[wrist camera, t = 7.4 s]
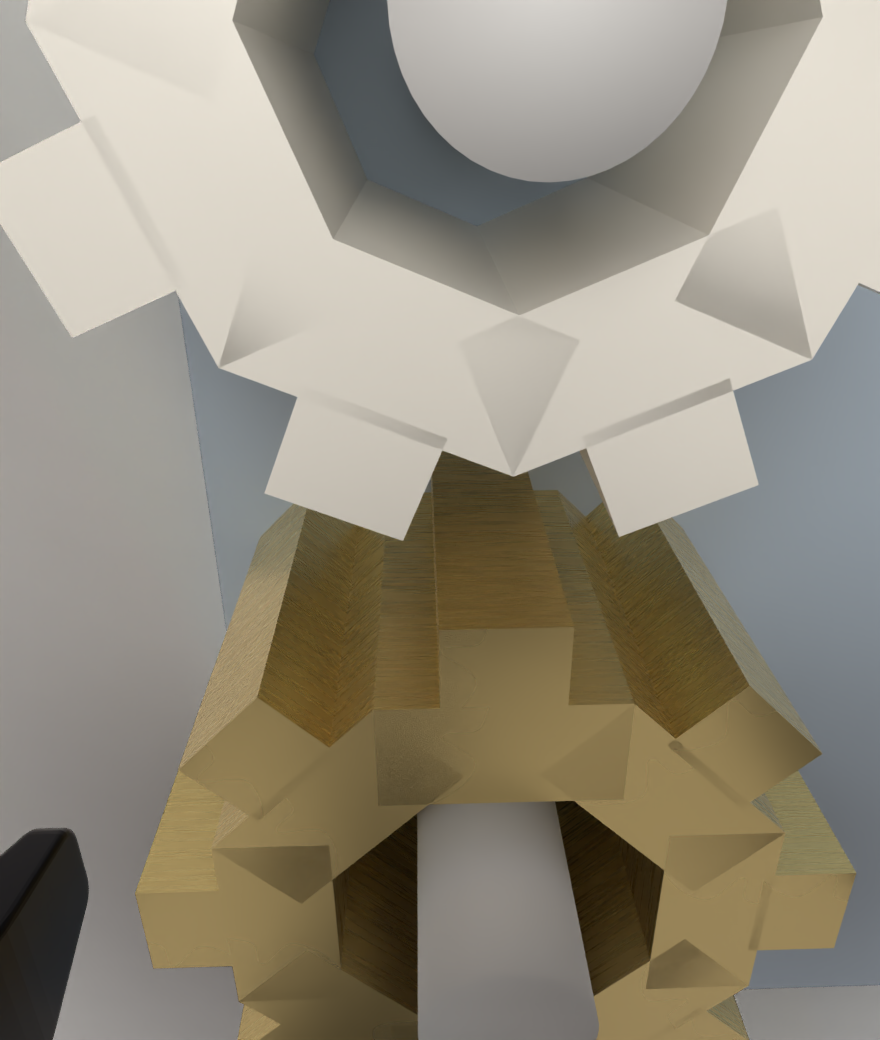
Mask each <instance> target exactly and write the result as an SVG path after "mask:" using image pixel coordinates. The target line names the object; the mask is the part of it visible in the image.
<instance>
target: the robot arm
mask: <svg viewBox="0 0 880 1040" xmlns="http://www.w3.org/2000/svg"><path fill="white" fill-rule="evenodd" d="M88 893H89V885H88V878H87V874H86V871H85V867H84V863H83V860H82V856H81V853H80V849H79V845H78V842H77V838H76V836H75V833H74V832H73V831H72V830H71V829H68V828H39V829H34V830H31V831H29V832H28V833H26V834H25V835H24V836H22V837H21V838H20V839H19V840H18V841H17V842H16V843H14V844H13V845H12V846H11V847H10V848H9V849H7V850H6V851H5V852H4V853H3V854H2V855H1V856H0V1040H53V1037H54V1033H55V1029H56V1026H57V1022H58V1018H59V1014H60V1010H61V1006H62V1002H63V998H64V994H65V990H66V986H67V982H68V978H69V974H70V970H71V966H72V962H73V958H74V954H75V950H76V946H77V942H78V938H79V934H80V930H81V926H82V922H83V918H84V914H85V910H86V906H87V902H88Z"/></svg>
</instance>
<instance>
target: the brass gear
mask: <svg viewBox="0 0 880 1040" xmlns="http://www.w3.org/2000/svg"><path fill="white" fill-rule="evenodd" d="M821 754H822V752H821V750H820V749H819V747H818V746H817V744H816V742H815V741H814V739H813V738H812V736H811V734H810V733H809V731H808V729H807V728H806V726H805V725H804V723H803V721H802V720H801V718H800V717H799V715H798V713H797V712H796V710H795V708H794V707H793V705H792V704H791V702H790V700H789V699H788V697H787V696H786V694H785V692H784V691H783V689H782V688H781V686H780V684H779V683H778V681H777V679H776V678H775V676H774V675H773V673H772V671H771V670H770V668H769V667H768V665H767V663H766V662H765V660H764V658H763V657H762V655H761V654H760V652H759V650H758V649H757V647H756V646H755V644H754V642H753V641H752V639H751V638H750V636H749V634H748V633H747V631H746V629H745V628H744V626H743V625H742V623H741V621H740V620H739V618H738V617H737V615H736V613H735V612H734V610H733V608H732V607H731V605H730V604H729V602H728V600H727V599H726V597H725V596H724V594H723V592H722V591H721V589H720V588H719V586H718V584H717V583H716V581H715V579H714V578H713V576H712V575H711V573H710V571H709V570H708V568H707V567H706V565H705V563H704V562H703V560H702V558H701V557H700V555H699V554H698V552H697V550H696V549H695V547H694V546H693V544H692V542H691V541H690V539H689V538H688V536H687V534H686V533H685V531H684V529H683V528H682V527H681V526H680V525H679V524H678V523H677V522H676V521H675V520H674V519H673V518H672V517H671V518H669V519H666V520H663V521H661V522H658V523H655V524H653V525H650V526H647V527H645V528H642V529H639V530H637V531H634V532H631V533H628V534H626V535H623V536H620V537H619V536H618V534H617V532H616V529H615V527H614V525H613V523H612V521H611V519H610V517H609V514H608V512H607V510H606V508H605V506H604V504H603V502H602V503H601V504H600V505H598V506H597V507H596V508H595V509H594V510H593V511H591V512H590V513H589V514H588V515H587V516H586V517H585V516H584V515H583V514H582V513H581V512H580V511H579V510H578V509H577V508H576V507H575V506H574V505H573V504H572V503H571V502H570V501H568V500H567V499H566V498H565V497H564V496H563V495H562V494H561V493H560V492H559V491H558V490H533V488H532V484H531V481H530V478H529V474H528V471H527V472H524V473H522V474H519V475H517V476H514V477H513V476H510V475H508V474H505V473H502V472H499V471H497V470H494V469H491V468H489V467H486V466H483V465H480V464H478V463H475V462H472V461H470V460H467V459H464V458H461V457H459V456H456V455H453V454H451V453H448V452H445V451H443V450H442V453H441V455H440V457H439V459H438V462H437V464H436V466H435V469H434V471H433V473H432V475H431V492H424V494H423V496H422V498H421V501H420V503H419V505H418V508H417V510H416V512H415V514H414V517H413V519H412V521H411V524H410V526H409V528H408V531H407V533H406V535H405V537H404V540H403V541H401V540H399V539H396V538H393V537H390V536H387V535H384V534H381V533H378V532H375V531H372V530H369V529H367V528H364V527H361V526H358V525H355V524H352V523H349V522H346V521H343V520H340V519H337V518H334V517H332V516H329V515H326V514H323V513H320V512H317V511H314V510H311V509H308V508H305V507H302V506H300V505H297V504H294V503H293V504H292V505H291V506H290V507H289V508H288V509H287V510H286V511H285V512H284V513H283V514H282V515H281V516H280V517H279V518H278V519H277V520H276V521H275V523H274V524H273V525H272V526H271V527H270V528H269V529H268V530H267V531H266V532H265V533H264V534H263V535H262V536H261V537H260V539H259V541H258V544H257V547H256V550H255V553H254V556H253V558H252V561H251V564H250V567H249V570H248V573H247V575H246V578H245V581H244V584H243V587H242V590H241V592H240V595H239V598H238V601H237V604H236V607H235V609H234V612H233V615H232V618H231V621H230V624H229V626H228V629H227V632H226V635H225V638H224V641H223V643H222V646H221V649H220V652H219V655H218V658H217V661H216V663H215V666H214V669H213V672H212V675H211V678H210V680H209V683H208V686H207V689H206V692H205V695H204V697H203V700H202V703H201V706H200V709H199V712H198V714H197V717H196V720H195V723H194V726H193V729H192V731H191V734H190V737H189V740H188V743H187V746H186V748H185V751H184V754H183V757H182V760H181V763H180V765H179V768H178V773H177V776H176V778H175V781H174V784H173V787H172V790H171V793H170V795H169V798H168V801H167V804H166V807H165V810H164V813H163V815H162V818H161V821H160V824H159V827H158V830H157V832H156V835H155V838H154V841H153V844H152V847H151V849H150V852H149V855H148V858H147V861H146V864H145V867H144V869H143V872H142V875H141V878H140V881H139V884H138V886H137V889H136V892H135V896H136V900H137V904H138V908H139V912H140V916H141V920H142V924H143V928H144V932H145V936H146V940H147V944H148V948H149V952H150V956H151V960H152V965H153V969H154V968H188V967H221V966H232V967H233V973H234V978H235V984H236V989H237V995H238V1000H239V1002H240V1003H242V1004H244V1008H243V1013H242V1019H241V1024H240V1029H239V1034H238V1040H418V893H417V813H419V812H420V811H421V810H422V809H424V808H425V807H426V806H428V805H431V804H469V803H507V802H545V801H555V804H556V809H557V814H558V819H559V824H560V829H561V834H562V840H563V845H564V850H565V855H566V860H567V865H568V870H569V875H570V880H571V885H572V890H573V895H574V900H575V905H576V910H577V915H578V920H579V925H580V930H581V935H582V940H583V945H584V950H585V956H586V961H587V966H588V971H589V976H590V981H591V986H592V991H593V996H594V1001H595V1006H596V1011H597V1016H598V1021H599V1031H598V1036H597V1039H596V1040H749V1038H748V1035H747V1032H746V1029H745V1027H744V1024H743V1021H742V1018H741V1015H740V1012H739V1010H738V1007H737V1004H736V1001H735V998H734V994H736V993H738V992H739V991H741V990H743V989H744V988H746V987H748V986H749V983H750V978H751V974H752V970H753V966H754V962H755V958H756V953H757V950H789V949H822V948H834V946H835V943H836V940H837V936H838V933H839V930H840V926H841V923H842V920H843V916H844V913H845V910H846V906H847V903H848V900H849V896H850V893H851V890H852V886H853V883H854V880H855V876H856V871H855V870H854V868H853V866H852V864H851V863H850V861H849V859H848V857H847V856H846V854H845V852H844V850H843V849H842V847H841V845H840V843H839V841H838V840H837V838H836V836H835V834H834V833H833V831H832V829H831V827H830V826H829V824H828V822H827V820H826V819H825V817H824V815H823V813H822V812H821V810H820V808H819V806H818V805H817V803H816V801H815V799H814V797H813V796H812V794H811V792H810V790H809V789H808V787H807V785H806V783H805V782H804V780H803V778H802V776H801V775H800V773H799V771H798V770H799V769H801V768H802V767H804V766H805V765H807V764H808V763H810V762H811V761H813V760H814V759H816V758H817V757H818V756H820V755H821Z"/></svg>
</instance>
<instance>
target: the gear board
mask: <svg viewBox="0 0 880 1040" xmlns="http://www.w3.org/2000/svg"><path fill="white" fill-rule="evenodd" d="M726 5H727V0H330V2H329V5H328V8H327V12H326V15H325V18H324V22H323V25H322V28H321V32H320V35H319V38H318V42H317V45H316V48H315V52H314V56H315V59H316V61H317V63H318V66H319V68H320V70H321V73H322V75H323V77H324V80H325V82H326V84H327V87H328V89H329V91H330V93H331V96H332V98H333V100H334V103H335V105H336V107H337V110H338V112H339V114H340V117H341V119H342V121H343V124H344V126H345V128H346V131H347V133H348V135H349V138H350V140H351V142H352V145H353V147H354V149H355V152H356V154H357V156H358V159H359V161H360V163H361V166H362V168H363V170H364V173H365V175H366V177H367V180H370V181H372V182H374V183H377V184H379V185H381V186H384V187H386V188H388V189H391V190H393V191H395V192H398V193H400V194H402V195H405V196H407V197H409V198H412V199H414V200H416V201H419V202H421V203H423V204H426V205H428V206H430V207H433V208H435V209H438V210H440V211H442V212H445V213H447V214H449V215H452V216H454V217H456V218H459V219H461V220H463V221H466V222H468V223H470V224H473V225H475V226H479V225H481V224H483V223H485V222H488V221H490V220H492V219H494V218H497V217H499V216H501V215H503V214H506V213H508V212H510V211H512V210H515V209H517V208H519V207H521V206H524V205H526V204H528V203H530V202H533V201H535V200H537V199H539V198H542V197H544V196H546V195H549V194H551V193H553V192H555V191H558V190H560V189H562V188H564V187H567V186H569V185H571V184H573V183H576V182H578V181H580V180H582V179H585V178H587V177H589V176H592V175H595V174H598V173H601V172H603V171H606V170H609V169H611V168H613V167H615V166H617V165H619V164H621V163H622V162H624V161H626V160H628V159H630V158H631V157H633V156H634V155H636V154H637V153H639V152H640V151H641V150H643V149H644V148H646V147H647V146H648V145H650V144H651V143H652V142H653V141H654V140H655V139H656V138H657V137H658V136H660V135H661V134H662V133H663V132H664V131H665V130H666V129H667V128H668V127H669V126H670V124H671V123H672V122H673V121H674V120H675V119H676V118H677V117H678V115H679V114H680V113H681V112H682V110H683V109H684V107H685V106H686V105H687V103H688V102H689V100H690V99H691V97H692V96H693V95H694V93H695V91H696V89H697V88H698V86H699V84H700V82H701V80H702V79H703V77H704V75H705V73H706V71H707V69H708V66H709V64H710V61H711V59H712V57H713V54H714V52H715V49H716V46H717V43H718V40H719V36H720V33H721V29H722V26H723V22H724V16H725V11H726ZM178 298H179V296H178ZM179 305H180V312H181V319H182V326H183V333H184V339H185V346H186V353H187V360H188V367H189V374H190V381H191V388H192V395H193V402H194V409H195V416H196V423H197V430H198V437H199V444H200V451H201V458H202V464H203V471H204V478H205V485H206V492H207V499H208V506H209V513H210V520H211V527H212V534H213V541H214V548H215V555H216V562H217V569H218V576H219V583H220V589H221V596H222V603H223V610H224V617H225V624H226V631H227V629H228V626H229V624H230V621H231V618H232V615H233V612H234V609H235V607H236V604H237V601H238V598H239V595H240V592H241V590H242V587H243V584H244V581H245V578H246V575H247V573H248V570H249V567H250V564H251V561H252V558H253V556H254V553H255V550H256V547H257V544H258V541H259V539H260V537H261V536H262V535H263V534H264V533H265V532H266V531H267V530H268V529H269V528H270V527H271V526H272V525H273V524H274V523H275V521H276V520H277V519H278V518H279V517H280V516H281V515H282V514H283V513H284V512H285V511H286V510H287V509H288V508H289V507H290V506H291V505H292V504H293V503H291V502H288V501H285V500H282V499H279V498H276V497H273V496H270V495H268V494H265V490H266V487H267V484H268V481H269V478H270V475H271V472H272V469H273V467H274V464H275V461H276V458H277V455H278V452H279V449H280V446H281V443H282V440H283V438H284V435H285V432H286V429H287V426H288V423H289V420H290V417H291V414H292V411H293V409H294V406H295V403H296V400H297V397H296V396H293V395H291V394H288V393H285V392H283V391H280V390H277V389H274V388H272V387H269V386H266V385H264V384H261V383H258V382H255V381H253V380H250V379H247V378H245V377H242V376H239V375H236V374H234V373H231V372H228V371H226V370H223V369H220V368H218V366H217V364H216V363H215V361H214V359H213V357H212V355H211V354H210V352H209V350H208V348H207V346H206V345H205V343H204V341H203V339H202V337H201V336H200V334H199V332H198V330H197V329H196V327H195V325H194V323H193V321H192V320H191V318H190V316H189V314H188V312H187V311H186V309H185V307H184V305H183V303H182V302H181V300H180V298H179ZM733 392H734V396H735V400H736V403H737V407H738V411H739V414H740V418H741V422H742V425H743V429H744V433H745V436H746V440H747V444H748V447H749V451H750V454H751V458H752V462H753V465H754V469H755V473H756V476H757V480H758V484H759V485H757V486H755V487H752V488H749V489H747V490H744V491H741V492H739V493H736V494H733V495H730V496H728V497H725V498H722V499H720V500H717V501H714V502H712V503H709V504H706V505H704V506H701V507H698V508H696V509H693V510H690V511H688V512H685V513H682V514H679V515H677V516H674V517H672V518H673V519H674V520H675V521H676V522H677V523H678V524H679V525H680V526H681V527H682V528H683V529H684V531H685V533H686V534H687V536H688V538H689V539H690V541H691V542H692V544H693V546H694V547H695V549H696V550H697V552H698V554H699V555H700V557H701V558H702V560H703V562H704V563H705V565H706V567H707V568H708V570H709V571H710V573H711V575H712V576H713V578H714V579H715V581H716V583H717V584H718V586H719V588H720V589H721V591H722V592H723V594H724V596H725V597H726V599H727V600H728V602H729V604H730V605H731V607H732V608H733V610H734V612H735V613H736V615H737V617H738V618H739V620H740V621H741V623H742V625H743V626H744V628H745V629H746V631H747V633H748V634H749V636H750V638H751V639H752V641H753V642H754V644H755V646H756V647H757V649H758V650H759V652H760V654H761V655H762V657H763V658H764V660H765V662H766V663H767V665H768V667H769V668H770V670H771V671H772V673H773V675H774V676H775V678H776V679H777V681H778V683H779V684H780V686H781V688H782V689H783V691H784V692H785V694H786V696H787V697H788V699H789V700H790V702H791V704H792V705H793V707H794V708H795V710H796V712H797V713H798V715H799V717H800V718H801V720H802V721H803V723H804V725H805V726H806V728H807V729H808V731H809V733H810V734H811V736H812V738H813V739H814V741H815V742H816V744H817V746H818V747H819V749H820V750H821V752H822V754H821V755H820V756H818V757H817V758H816V759H814V760H813V761H811V762H810V763H808V764H807V765H805V766H804V767H802V768H801V769H799V770H798V771H799V773H800V775H801V776H802V778H803V780H804V782H805V783H806V785H807V787H808V789H809V790H810V792H811V794H812V796H813V797H814V799H815V801H816V803H817V805H818V806H819V808H820V810H821V812H822V813H823V815H824V817H825V819H826V820H827V822H828V824H829V826H830V827H831V829H832V831H833V833H834V834H835V836H836V838H837V840H838V841H839V843H840V845H841V847H842V849H843V850H844V852H845V854H846V856H847V857H848V859H849V861H850V863H851V864H852V866H853V868H854V870H855V871H856V876H855V880H854V883H853V886H852V890H851V893H850V896H849V900H848V903H847V906H846V910H845V913H844V916H843V920H842V923H841V926H840V930H839V933H838V936H837V940H836V943H835V946H834V948H822V949H789V950H757V953H756V958H755V962H754V966H753V970H752V974H751V978H750V983H749V986H748V987H746V988H744V989H764V988H798V987H832V986H867V985H880V294H877V293H875V292H873V291H870V290H868V289H866V288H863V287H861V286H859V285H857V287H856V289H855V290H854V292H853V294H852V295H851V297H850V298H849V300H848V302H847V303H846V305H845V307H844V308H843V310H842V312H841V313H840V315H839V316H838V318H837V320H836V321H835V323H834V325H833V326H832V328H831V330H830V331H829V333H828V334H827V336H826V338H825V339H824V341H823V343H822V344H821V346H820V348H819V349H818V351H817V352H816V354H815V356H814V357H813V359H812V360H810V361H807V362H805V363H802V364H800V365H797V366H795V367H792V368H790V369H787V370H784V371H782V372H779V373H777V374H774V375H772V376H769V377H767V378H764V379H762V380H759V381H756V382H754V383H751V384H749V385H746V386H744V387H741V388H739V389H736V390H733ZM528 474H529V478H530V481H531V484H532V488H533V490H558V491H559V492H560V493H561V494H562V495H563V496H564V497H565V498H566V499H567V500H568V501H570V502H571V503H572V504H573V505H574V506H575V507H576V508H577V509H578V510H579V511H580V512H581V513H582V514H583V515H584V516H585V517H586V516H587V515H588V514H589V513H590V512H591V511H593V510H594V509H595V508H596V507H597V506H598V505H600V504H601V503H602V502H603V501H602V499H601V497H600V495H599V493H598V491H597V488H596V486H595V484H594V482H593V480H592V478H591V475H590V473H589V471H588V469H587V467H586V465H585V462H584V460H583V458H582V456H581V454H580V452H579V451H578V452H575V453H573V454H570V455H568V456H565V457H563V458H560V459H557V460H555V461H552V462H550V463H547V464H545V465H542V466H540V467H537V468H534V469H532V470H529V471H528ZM425 492H431V478H430V480H429V482H428V485H427V487H426V489H425ZM417 893H418V1040H596V1039H597V1036H598V1031H599V1021H598V1016H597V1011H596V1006H595V1001H594V996H593V991H592V986H591V981H590V976H589V971H588V966H587V961H586V956H585V950H584V945H583V940H582V935H581V930H580V925H579V920H578V915H577V910H576V905H575V900H574V895H573V890H572V885H571V880H570V875H569V870H568V865H567V860H566V855H565V850H564V845H563V840H562V834H561V829H560V824H559V819H558V814H557V809H556V804H555V801H545V802H507V803H469V804H431V805H428V806H426V807H425V808H424V809H422V810H421V811H420V812H419V813H417Z"/></svg>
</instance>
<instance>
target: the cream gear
mask: <svg viewBox="0 0 880 1040" xmlns="http://www.w3.org/2000/svg"><path fill="white" fill-rule="evenodd" d="M329 2H330V0H29V1H28V7H27V13H26V19H25V22H26V24H27V26H28V28H29V29H30V31H31V33H32V35H33V36H34V38H35V40H36V42H37V44H38V45H39V47H40V49H41V51H42V53H43V54H44V56H45V58H46V60H47V62H48V63H49V65H50V67H51V69H52V71H53V72H54V74H55V76H56V78H57V79H58V81H59V83H60V85H61V87H62V88H63V90H64V92H65V94H66V96H67V97H68V99H69V101H70V103H71V105H72V106H73V108H74V110H75V112H76V114H77V115H78V117H79V119H80V121H81V122H79V123H77V124H75V125H73V126H71V127H69V128H67V129H65V130H63V131H61V132H59V133H57V134H55V135H53V136H51V137H49V138H47V139H45V140H43V141H41V142H39V143H37V144H35V145H33V146H31V147H29V148H27V149H25V150H23V151H21V152H19V153H17V154H15V155H13V156H12V157H10V158H8V159H6V160H4V161H2V162H0V224H1V226H2V228H3V229H4V231H5V232H6V234H7V236H8V237H9V239H10V240H11V242H12V244H13V245H14V247H15V248H16V250H17V251H18V253H19V255H20V256H21V258H22V259H23V261H24V263H25V264H26V266H27V267H28V269H29V271H30V272H31V274H32V275H33V277H34V278H35V280H36V282H37V283H38V285H39V286H40V288H41V290H42V291H43V293H44V294H45V296H46V298H47V299H48V301H49V302H50V304H51V305H52V307H53V309H54V310H55V312H56V313H57V315H58V317H59V318H60V320H61V321H62V323H63V325H64V326H65V328H66V329H67V331H68V332H69V334H70V336H71V337H72V338H74V337H76V336H78V335H81V334H83V333H85V332H87V331H89V330H91V329H94V328H96V327H98V326H100V325H102V324H105V323H107V322H109V321H111V320H113V319H115V318H118V317H120V316H122V315H124V314H126V313H129V312H131V311H133V310H135V309H137V308H139V307H142V306H144V305H146V304H148V303H150V302H153V301H155V300H157V299H159V298H161V297H163V296H166V295H168V294H170V293H172V292H174V291H176V293H177V294H178V296H179V298H180V300H181V302H182V303H183V305H184V307H185V309H186V311H187V312H188V314H189V316H190V318H191V320H192V321H193V323H194V325H195V327H196V329H197V330H198V332H199V334H200V336H201V337H202V339H203V341H204V343H205V345H206V346H207V348H208V350H209V352H210V354H211V355H212V357H213V359H214V361H215V363H216V364H217V366H218V368H220V369H223V370H226V371H228V372H231V373H234V374H236V375H239V376H242V377H245V378H247V379H250V380H253V381H255V382H258V383H261V384H264V385H266V386H269V387H272V388H274V389H277V390H280V391H283V392H285V393H288V394H291V395H293V396H296V397H297V400H296V403H295V406H294V409H293V411H292V414H291V417H290V420H289V423H288V426H287V429H286V432H285V435H284V438H283V440H282V443H281V446H280V449H279V452H278V455H277V458H276V461H275V464H274V467H273V469H272V472H271V475H270V478H269V481H268V484H267V487H266V490H265V494H268V495H270V496H273V497H276V498H279V499H282V500H285V501H288V502H291V503H294V504H297V505H300V506H302V507H305V508H308V509H311V510H314V511H317V512H320V513H323V514H326V515H329V516H332V517H334V518H337V519H340V520H343V521H346V522H349V523H352V524H355V525H358V526H361V527H364V528H367V529H369V530H372V531H375V532H378V533H381V534H384V535H387V536H390V537H393V538H396V539H399V540H401V541H403V540H404V537H405V535H406V533H407V531H408V528H409V526H410V524H411V521H412V519H413V517H414V514H415V512H416V510H417V508H418V505H419V503H420V501H421V498H422V496H423V494H424V492H425V489H426V487H427V485H428V482H429V480H430V478H431V475H432V473H433V471H434V469H435V466H436V464H437V462H438V459H439V457H440V455H441V453H442V450H443V451H445V452H448V453H451V454H453V455H456V456H459V457H461V458H464V459H467V460H470V461H472V462H475V463H478V464H480V465H483V466H486V467H489V468H491V469H494V470H497V471H499V472H502V473H505V474H508V475H510V476H513V477H514V476H517V475H519V474H522V473H524V472H527V471H529V470H532V469H534V468H537V467H540V466H542V465H545V464H547V463H550V462H552V461H555V460H557V459H560V458H563V457H565V456H568V455H570V454H573V453H575V452H578V451H579V452H580V454H581V456H582V458H583V460H584V462H585V465H586V467H587V469H588V471H589V473H590V475H591V478H592V480H593V482H594V484H595V486H596V488H597V491H598V493H599V495H600V497H601V499H602V501H603V504H604V506H605V508H606V510H607V512H608V514H609V517H610V519H611V521H612V523H613V525H614V527H615V529H616V532H617V534H618V536H619V537H620V536H623V535H626V534H628V533H631V532H634V531H637V530H639V529H642V528H645V527H647V526H650V525H653V524H655V523H658V522H661V521H663V520H666V519H669V518H671V517H674V516H677V515H679V514H682V513H685V512H688V511H690V510H693V509H696V508H698V507H701V506H704V505H706V504H709V503H712V502H714V501H717V500H720V499H722V498H725V497H728V496H730V495H733V494H736V493H739V492H741V491H744V490H747V489H749V488H752V487H755V486H757V485H759V484H758V480H757V476H756V473H755V469H754V465H753V462H752V458H751V454H750V451H749V447H748V444H747V440H746V436H745V433H744V429H743V425H742V422H741V418H740V414H739V411H738V407H737V403H736V400H735V396H734V392H733V390H736V389H739V388H741V387H744V386H746V385H749V384H751V383H754V382H756V381H759V380H762V379H764V378H767V377H769V376H772V375H774V374H777V373H779V372H782V371H784V370H787V369H790V368H792V367H795V366H797V365H800V364H802V363H805V362H807V361H810V360H812V359H813V357H814V356H815V354H816V352H817V351H818V349H819V348H820V346H821V344H822V343H823V341H824V339H825V338H826V336H827V334H828V333H829V331H830V330H831V328H832V326H833V325H834V323H835V321H836V320H837V318H838V316H839V315H840V313H841V312H842V310H843V308H844V307H845V305H846V303H847V302H848V300H849V298H850V297H851V295H852V294H853V292H854V290H855V289H856V287H857V285H859V286H861V287H863V288H866V289H868V290H870V291H873V292H875V293H877V294H880V0H727V5H726V11H725V16H724V22H723V26H722V29H721V33H720V36H719V40H718V43H717V46H716V49H715V52H714V54H713V57H712V59H711V61H710V64H709V66H708V69H707V71H706V73H705V75H704V77H703V79H702V80H701V82H700V84H699V86H698V88H697V89H696V91H695V93H694V95H693V96H692V97H691V99H690V100H689V102H688V103H687V105H686V106H685V107H684V109H683V110H682V112H681V113H680V114H679V115H678V117H677V118H676V119H675V120H674V121H673V122H672V123H671V124H670V126H669V127H668V128H667V129H666V130H665V131H664V132H663V133H662V134H661V135H660V136H658V137H657V138H656V139H655V140H654V141H653V142H652V143H651V144H650V145H648V146H647V147H646V148H644V149H643V150H641V151H640V152H639V153H637V154H636V155H634V156H633V157H631V158H630V159H628V160H626V161H624V162H622V163H621V164H619V165H617V166H615V167H613V168H611V169H609V170H606V171H603V172H601V173H598V174H595V175H592V176H589V177H587V178H585V179H582V180H580V181H578V182H576V183H573V184H571V185H569V186H567V187H564V188H562V189H560V190H558V191H555V192H553V193H551V194H549V195H546V196H544V197H542V198H539V199H537V200H535V201H533V202H530V203H528V204H526V205H524V206H521V207H519V208H517V209H515V210H512V211H510V212H508V213H506V214H503V215H501V216H499V217H497V218H494V219H492V220H490V221H488V222H485V223H483V224H481V225H479V226H475V225H473V224H470V223H468V222H466V221H463V220H461V219H459V218H456V217H454V216H452V215H449V214H447V213H445V212H442V211H440V210H438V209H435V208H433V207H430V206H428V205H426V204H423V203H421V202H419V201H416V200H414V199H412V198H409V197H407V196H405V195H402V194H400V193H398V192H395V191H393V190H391V189H388V188H386V187H384V186H381V185H379V184H377V183H374V182H372V181H370V180H367V177H366V175H365V173H364V170H363V168H362V166H361V163H360V161H359V159H358V156H357V154H356V152H355V149H354V147H353V145H352V142H351V140H350V138H349V135H348V133H347V131H346V128H345V126H344V124H343V121H342V119H341V117H340V114H339V112H338V110H337V107H336V105H335V103H334V100H333V98H332V96H331V93H330V91H329V89H328V87H327V84H326V82H325V80H324V77H323V75H322V73H321V70H320V68H319V66H318V63H317V61H316V59H315V56H314V52H315V48H316V45H317V42H318V38H319V35H320V32H321V28H322V25H323V22H324V18H325V15H326V12H327V8H328V5H329Z"/></svg>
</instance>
